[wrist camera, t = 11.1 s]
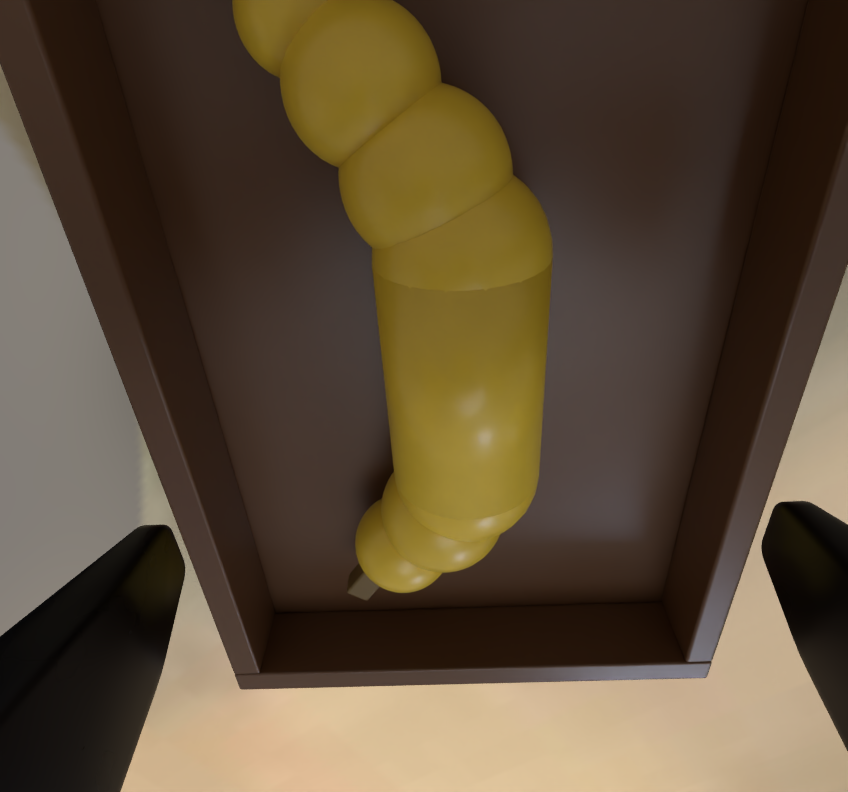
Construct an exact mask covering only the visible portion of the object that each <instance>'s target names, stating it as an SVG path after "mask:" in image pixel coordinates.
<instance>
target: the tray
mask: <svg viewBox="0 0 848 792" xmlns="http://www.w3.org/2000/svg"><path fill="white" fill-rule="evenodd" d="M393 1H395V2H397V3H398V4H400V5H401V6H402V7H404V8H405V9H407V10H408V11H409V12H410V13H411V14H412V15H413V16H414V17H415V18H416V19H417V20H418V22H419V23H420V24H421V25H422V26H423V28H424V30H425V31H426V33H427V34H428V36H429V38H430V40H431V42H432V44H433V46H434V48H435V51H436V54H437V57H438V61H439V66H440V70H441V81H442V83H445V84H448V85H451V86H455V87H457V88H459V89H461V90H463V91H465V92H467V93H469V94H470V95H472V96H473V97H475V98H476V99H478V100H479V101H480V102H481V103H482V104H483V105H484V106H486V107H487V108H488V110H489V111H490V112H491V113H492V114H493V116H494V117H495V118H496V120H497V121H498V123H499V125H500V126H501V128H502V130H503V132H504V134H505V136H506V139H507V142H508V145H509V149H510V152H511V158H512V164H513V175H514V176H516V177H517V178H518V179H519V180H521V181H522V182H523V183H524V184H525V185H526V186H527V187H528V188H529V189H530V190H531V192H532V193H533V194H534V195H535V197H536V198H537V199H538V200H539V202H540V204H541V206H542V208H543V210H544V212H545V214H546V216H547V220H548V224H549V228H550V232H551V236H552V247H553V261H552V277H551V293H550V309H549V325H548V341H547V357H546V372H545V388H544V404H543V420H542V436H541V452H540V468H539V479H538V484H537V488H536V493H535V496H534V498H533V500H532V502H531V504H530V506H529V507H528V509H527V511H526V513H525V514H524V515H523V516H522V517H521V518H520V519H519V520H518V521H517V522H516V523H515V524H514V525H513V526H512V527H511V528H509V529H508V530H506V531H505V532H503V533H501V534H500V536H499V538H498V540H497V542H496V544H495V545H494V547H493V548H492V549H491V550H490V552H489V553H488V554H487V555H486V556H485V557H484V558H483V559H481V560H480V561H478V562H477V563H475V564H474V565H472V566H470V567H468V568H466V569H463V570H459V571H455V572H447V573H442V574H441V575H440V576H439V577H438V578H437V579H436V580H435V581H434V582H433V583H432V584H430V585H429V586H427V587H425V588H423V589H421V590H418V591H414V592H409V593H397V592H392V591H389V590H386V589H383V588H381V587H379V588H378V589H377V590H376V591H375V593H374V594H373V595H372V596H371V597H370V598H369V599H368V600H363V599H361V598H358V597H356V596H353V595H351V594H348V593H347V586H348V579H349V574H350V573H351V572H352V570H353V569H354V568H355V567H356V566H357V565H358V563H359V562H358V559H357V555H356V549H355V537H356V532H357V528H358V525H359V523H360V520H361V519H362V517H363V515H364V514H365V512H366V511H367V510H368V509H369V508H370V507H371V506H372V505H373V504H374V503H375V502H377V501H378V500H380V499H382V497H383V492H384V489H385V486H386V484H387V482H388V480H389V478H390V476H391V475H392V473H393V472H394V467H393V457H392V448H391V439H390V429H389V420H388V411H387V402H386V392H385V383H384V374H383V364H382V355H381V346H380V336H379V327H378V318H377V308H376V299H375V290H374V280H373V271H372V247H371V246H370V245H369V244H368V243H367V242H365V241H364V240H363V238H362V237H361V236H360V235H359V234H358V232H357V231H356V230H355V228H354V226H353V225H352V223H351V222H350V220H349V217H348V215H347V213H346V211H345V208H344V205H343V202H342V199H341V194H340V189H339V178H338V171H339V168H338V167H335V166H333V165H331V164H329V163H327V162H326V161H324V160H322V159H321V158H319V157H318V156H317V155H316V154H314V153H313V152H312V151H311V150H310V149H309V148H308V147H307V146H306V145H305V144H304V143H303V142H302V140H301V139H300V138H299V137H298V135H297V133H296V132H295V130H294V129H293V127H292V125H291V123H290V121H289V119H288V117H287V114H286V111H285V108H284V105H283V100H282V96H281V88H280V78H278V77H276V76H274V75H273V74H271V73H269V72H268V71H266V70H265V69H264V68H263V67H261V66H260V65H259V64H258V63H257V62H256V61H255V60H254V59H253V58H252V56H251V55H250V54H249V53H248V51H247V49H246V48H245V46H244V45H243V43H242V41H241V39H240V37H239V34H238V31H237V29H236V25H235V21H234V16H233V8H232V0H0V64H1V67H2V69H3V72H4V75H5V77H6V80H7V82H8V85H9V88H10V90H11V93H12V95H13V98H14V101H15V103H16V106H17V108H18V111H19V114H20V116H21V119H22V121H23V124H24V127H25V129H26V132H27V134H28V137H29V140H30V142H31V145H32V147H33V150H34V153H35V155H36V158H37V160H38V163H39V166H40V168H41V171H42V173H43V176H44V179H45V181H46V184H47V186H48V189H49V192H50V194H51V197H52V200H53V202H54V205H55V207H56V210H57V213H58V215H59V218H60V220H61V223H62V226H63V228H64V231H65V233H66V236H67V239H68V241H69V244H70V246H71V249H72V252H73V254H74V257H75V259H76V262H77V265H78V267H79V270H80V272H81V275H82V278H83V280H84V283H85V285H86V288H87V291H88V293H89V296H90V298H91V301H92V303H93V306H94V309H95V311H96V314H97V317H98V319H99V322H100V325H101V327H102V330H103V332H104V335H105V337H106V340H107V343H108V345H109V348H110V350H111V353H112V355H113V358H114V361H115V364H116V366H117V369H118V371H119V374H120V376H121V379H122V382H123V384H124V387H125V390H126V392H127V395H128V397H129V400H130V403H131V405H132V408H133V410H134V413H135V416H136V418H137V421H138V423H139V426H140V429H141V431H142V434H143V436H144V439H145V442H146V444H147V447H148V449H149V452H150V455H151V457H152V460H153V463H154V465H155V468H156V470H157V473H158V476H159V478H160V481H161V483H162V486H163V489H164V491H165V494H166V496H167V499H168V502H169V504H170V507H171V509H172V512H173V515H174V517H175V520H176V522H177V525H178V528H179V530H180V533H181V535H182V538H183V541H184V543H185V546H186V548H187V551H188V554H189V556H190V559H191V561H192V564H193V567H194V569H195V572H196V574H197V577H198V580H199V582H200V585H201V588H202V590H203V593H204V595H205V598H206V601H207V603H208V606H209V608H210V611H211V614H212V616H213V619H214V621H215V624H216V627H217V629H218V632H219V634H220V637H221V640H222V642H223V645H224V647H225V650H226V653H227V655H228V658H229V660H230V663H231V666H232V668H233V671H234V673H235V677H236V679H237V682H238V684H239V687H240V689H279V688H319V687H360V686H400V685H440V684H480V683H520V682H560V681H600V680H640V679H680V678H706V677H707V675H708V672H709V669H710V666H711V660H712V659H713V656H714V653H715V650H716V647H717V645H718V642H719V639H720V636H721V633H722V630H723V627H724V624H725V621H726V618H727V615H728V612H729V609H730V607H731V604H732V601H733V598H734V595H735V592H736V589H737V586H738V583H739V580H740V577H741V574H742V571H743V569H744V566H745V563H746V560H747V557H748V554H749V551H750V548H751V545H752V542H753V539H754V536H755V533H756V530H757V528H758V525H759V522H760V519H761V516H762V513H763V510H764V507H765V504H766V501H767V498H768V495H769V492H770V490H771V487H772V484H773V481H774V478H775V475H776V472H777V469H778V466H779V463H780V460H781V457H782V454H783V451H784V449H785V446H786V443H787V440H788V437H789V434H790V431H791V428H792V425H793V422H794V419H795V416H796V413H797V411H798V408H799V405H800V402H801V399H802V396H803V393H804V390H805V387H806V384H807V381H808V378H809V375H810V373H811V370H812V367H813V364H814V361H815V358H816V355H817V352H818V349H819V346H820V343H821V340H822V337H823V334H824V332H825V329H826V326H827V323H828V320H829V317H830V314H831V311H832V308H833V305H834V302H835V299H836V296H837V294H838V291H839V288H840V285H841V282H842V279H843V276H844V273H845V270H846V267H847V264H848V0H393Z"/></svg>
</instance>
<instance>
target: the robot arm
mask: <svg viewBox="0 0 848 792" xmlns="http://www.w3.org/2000/svg"><path fill="white" fill-rule="evenodd" d="M762 555H763V558H764V561H765V564H766V567H767V569H768V572H769V575H770V577H771V580H772V583H773V585H774V588H775V591H776V593H777V596H778V599H779V601H780V604H781V607H782V610H783V612H784V615H785V618H786V620H787V623H788V626H789V628H790V631H791V634H792V636H793V639H794V641H795V644H796V646H797V649H798V651H799V654H800V656H801V658H802V660H803V662H804V664H805V667H806V669H807V671H808V673H809V675H810V677H811V679H812V681H813V683H814V685H815V687H816V689H817V691H818V693H819V695H820V697H821V699H822V701H823V703H824V705H825V707H826V709H827V711H828V713H829V715H830V717H831V719H832V721H833V723H834V725H835V727H836V729H837V731H838V733H839V735H840V737H841V739H842V741H843V743H844V745H845V747H846V749H847V751H848V525H847V524H846V523H844V522H842V521H841V520H839V519H837V518H836V517H834V516H832V515H831V514H829V513H827V512H826V511H824V510H822V509H821V508H819V507H818V506H816V505H814V504H812V503H810V502H806V501H793V502H780V503H778V504H777V505H776V506H775V507H774V509H773V511H772V514H771V517H770V520H769V523H768V526H767V528H766V531H765V534H764V537H763V540H762ZM184 577H185V563H184V560H183V557H182V555H181V552H180V549H179V547H178V544H177V542H176V539H175V537H174V534H173V532H172V530H171V528H170V527H168V526H167V525H144V526H140V527H138V528H137V529H135V530H134V531H133V532H131V533H130V534H129V535H127V536H126V537H125V538H124V539H123V540H121V541H120V542H119V543H118V544H116V545H115V546H114V547H112V548H111V549H110V550H109V551H107V552H106V553H105V554H103V555H102V556H101V557H100V558H98V559H97V560H96V561H95V562H93V563H92V564H91V565H90V566H88V567H87V568H86V569H85V570H84V571H82V572H81V573H80V574H78V575H77V576H76V577H75V578H73V579H72V580H71V581H70V582H68V583H67V584H66V585H65V586H63V587H62V588H61V589H59V590H58V591H57V592H56V593H54V594H53V595H52V596H51V597H49V598H48V599H47V600H46V601H44V602H43V603H42V604H41V605H39V606H38V607H37V608H36V609H35V610H33V611H32V612H30V613H29V614H28V615H27V616H25V617H24V618H23V619H22V620H20V621H19V622H18V623H17V624H15V625H14V626H13V627H12V628H10V629H9V630H8V631H7V632H5V633H4V634H3V635H2V636H0V792H120V791H121V788H122V785H123V783H124V780H125V777H126V774H127V771H128V768H129V765H130V763H131V760H132V757H133V754H134V751H135V748H136V745H137V743H138V740H139V737H140V734H141V731H142V728H143V726H144V723H145V720H146V717H147V714H148V711H149V709H150V706H151V703H152V700H153V697H154V694H155V691H156V688H157V685H158V682H159V679H160V676H161V673H162V669H163V665H164V662H165V658H166V654H167V649H168V645H169V641H170V637H171V632H172V628H173V624H174V620H175V615H176V611H177V607H178V603H179V598H180V594H181V590H182V586H183V581H184Z"/></svg>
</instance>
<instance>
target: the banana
mask: <svg viewBox="0 0 848 792" xmlns="http://www.w3.org/2000/svg"><path fill="white" fill-rule="evenodd" d="M232 8H233V16H234V21H235V25H236V29H237V31H238V34H239V37H240V39H241V41H242V43H243V45H244V46H245V48H246V49H247V51H248V53H249V54H250V55H251V56H252V58H253V59H254V60H255V61H256V62H257V63H258V64H259V65H260V66H261V67H263V68H264V69H265V70H266V71H268V72H269V73H271V74H273V75H274V76H276V77H278V78H280V88H281V96H282V100H283V105H284V108H285V111H286V114H287V117H288V119H289V121H290V123H291V125H292V127H293V129H294V130H295V132H296V133H297V135H298V137H299V138H300V139H301V140H302V142H303V143H304V144H305V145H306V146H307V147H308V148H309V149H310V150H311V151H312V152H313V153H314V154H316V155H317V156H318V157H319V158H321V159H322V160H324V161H326V162H327V163H329V164H331V165H333V166H335V167H338V168H339V171H338V178H339V189H340V194H341V199H342V202H343V205H344V208H345V211H346V213H347V215H348V217H349V220H350V222H351V223H352V225H353V226H354V228H355V230H356V231H357V232H358V234H359V235H360V236H361V237H362V238H363V240H364V241H365V242H367V243H368V244H369V245H370V246H371V247H372V271H373V280H374V290H375V299H376V308H377V318H378V327H379V336H380V346H381V355H382V364H383V374H384V383H385V392H386V402H387V411H388V420H389V429H390V439H391V448H392V457H393V467H394V472H393V473H392V475H391V476H390V478H389V480H388V482H387V484H386V486H385V489H384V492H383V497H382V499H380V500H378V501H377V502H375V503H374V504H373V505H372V506H371V507H370V508H369V509H368V510H367V511H366V512H365V514H364V515H363V517H362V519H361V520H360V523H359V525H358V528H357V532H356V537H355V549H356V555H357V559H358V562H359V563H358V565H357V566H356V567H355V568H354V569H353V570H352V572H351V573H350V574H349V579H348V586H347V593H348V594H351V595H353V596H356V597H358V598H361V599H363V600H368V599H369V598H370V597H371V596H372V595H373V594H374V593H375V591H376V590H377V589H378V588H379V587H381V588H383V589H386V590H389V591H392V592H397V593H409V592H414V591H418V590H421V589H423V588H425V587H427V586H429V585H430V584H432V583H433V582H434V581H435V580H436V579H437V578H438V577H439V576H440V575H441V574H442V573H447V572H455V571H459V570H463V569H466V568H468V567H470V566H472V565H474V564H475V563H477V562H478V561H480V560H481V559H483V558H484V557H485V556H486V555H487V554H488V553H489V552H490V550H491V549H492V548H493V547H494V545H495V544H496V542H497V540H498V538H499V536H500V534H501V533H503V532H505V531H506V530H508V529H509V528H511V527H512V526H513V525H514V524H515V523H516V522H517V521H518V520H519V519H520V518H521V517H522V516H523V515H524V514H525V513H526V511H527V509H528V507H529V506H530V504H531V502H532V500H533V498H534V496H535V493H536V488H537V484H538V479H539V468H540V452H541V436H542V420H543V404H544V388H545V372H546V357H547V341H548V325H549V309H550V293H551V277H552V261H553V247H552V236H551V232H550V228H549V224H548V220H547V216H546V214H545V212H544V210H543V208H542V206H541V204H540V202H539V200H538V199H537V198H536V197H535V195H534V194H533V193H532V192H531V190H530V189H529V188H528V187H527V186H526V185H525V184H524V183H523V182H522V181H521V180H519V179H518V178H517V177H516V176H514V175H513V164H512V158H511V152H510V149H509V145H508V142H507V139H506V136H505V134H504V132H503V130H502V128H501V126H500V125H499V123H498V121H497V120H496V118H495V117H494V116H493V114H492V113H491V112H490V111H489V110H488V108H487V107H486V106H484V105H483V104H482V103H481V102H480V101H479V100H478V99H476V98H475V97H473V96H472V95H470V94H469V93H467V92H465V91H463V90H461V89H459V88H457V87H455V86H451V85H448V84H445V83H442V81H441V70H440V66H439V61H438V57H437V54H436V51H435V48H434V46H433V44H432V42H431V40H430V38H429V36H428V34H427V33H426V31H425V30H424V28H423V26H422V25H421V24H420V23H419V22H418V20H417V19H416V18H415V17H414V16H413V15H412V14H411V13H410V12H409V11H408V10H407V9H405V8H404V7H402V6H401V5H400V4H398V3H397V2H395V1H393V0H232Z"/></svg>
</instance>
